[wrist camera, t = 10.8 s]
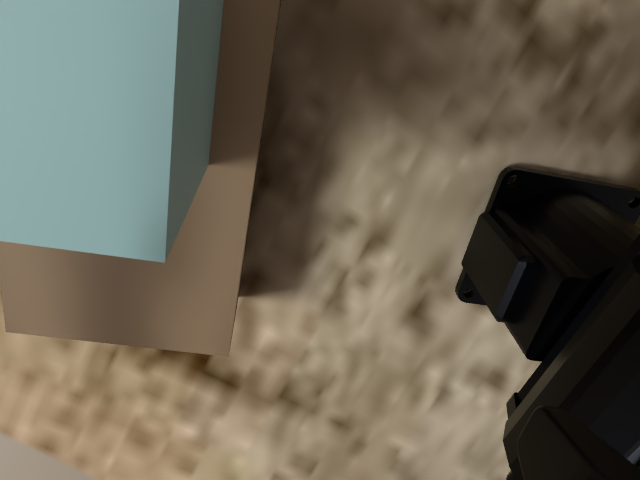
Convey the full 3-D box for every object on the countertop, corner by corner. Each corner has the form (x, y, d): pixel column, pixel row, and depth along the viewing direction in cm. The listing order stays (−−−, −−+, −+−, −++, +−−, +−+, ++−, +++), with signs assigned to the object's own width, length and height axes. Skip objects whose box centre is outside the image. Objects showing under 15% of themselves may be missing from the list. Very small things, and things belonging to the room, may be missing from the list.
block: (224, -14, 13) (179, -13, 8) (208, 164, 15) (165, 262, 10) (23, -57, 12) (-183, -89, 7) (37, 137, 14) (-110, 226, 9)
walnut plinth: (325, -305, 13) (338, -410, 10) (238, 297, 22) (228, 356, 19) (11, -402, 12) (-103, -561, 9) (53, 273, 21) (6, 331, 18)
